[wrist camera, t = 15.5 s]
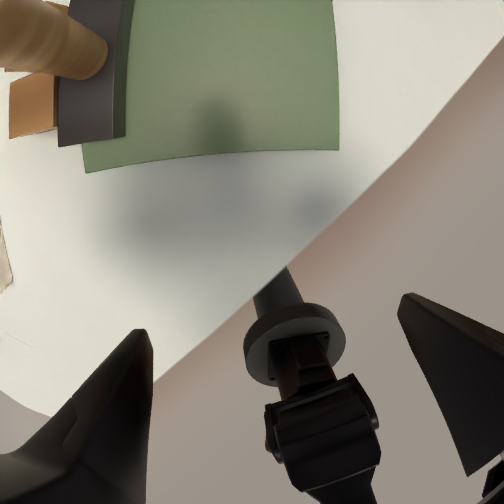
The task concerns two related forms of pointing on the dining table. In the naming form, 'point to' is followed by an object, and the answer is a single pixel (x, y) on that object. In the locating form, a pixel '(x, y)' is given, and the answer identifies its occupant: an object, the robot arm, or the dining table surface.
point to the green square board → (225, 81)
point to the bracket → (4, 266)
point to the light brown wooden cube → (33, 105)
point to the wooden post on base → (74, 60)
